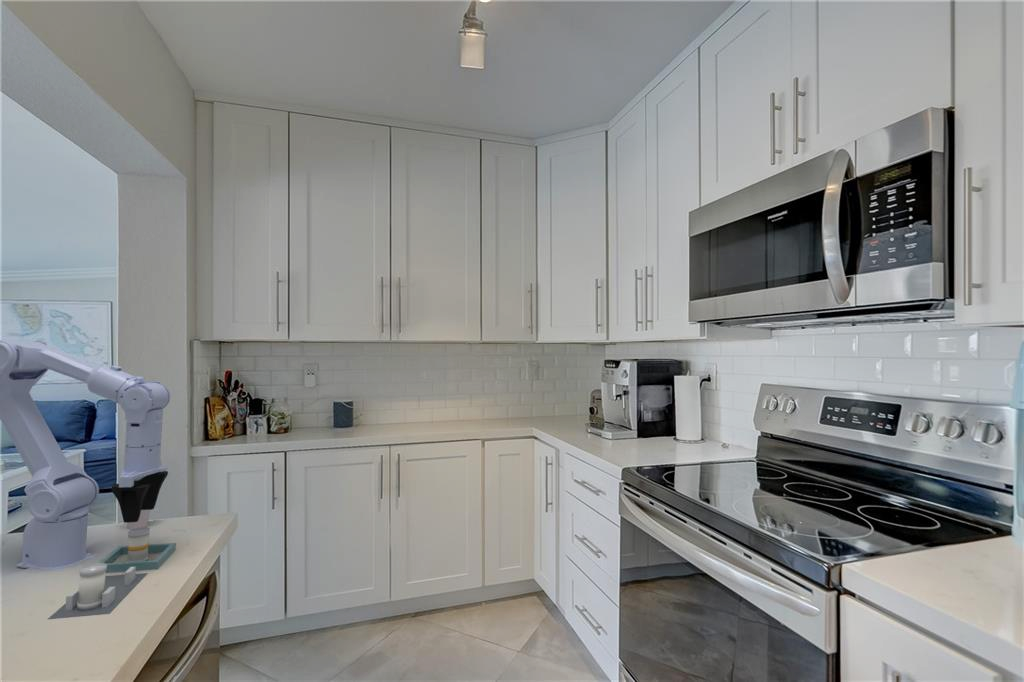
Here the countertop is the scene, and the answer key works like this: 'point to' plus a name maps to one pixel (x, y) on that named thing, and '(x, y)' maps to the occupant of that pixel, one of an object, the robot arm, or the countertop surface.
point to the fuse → (91, 586)
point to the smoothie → (140, 520)
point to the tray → (140, 565)
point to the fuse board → (112, 596)
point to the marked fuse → (138, 544)
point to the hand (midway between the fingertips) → (139, 515)
